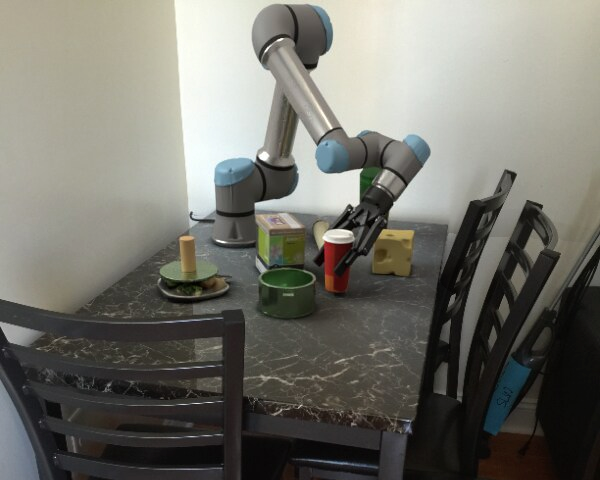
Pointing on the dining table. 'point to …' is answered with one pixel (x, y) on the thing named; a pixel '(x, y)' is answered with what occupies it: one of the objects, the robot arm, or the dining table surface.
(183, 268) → the lid
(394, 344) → the dining table surface
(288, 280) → the pot
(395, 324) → the dining table surface
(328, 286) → the paper cup
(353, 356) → the dining table surface
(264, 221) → the tea box
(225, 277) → the salad plate
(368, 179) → the bottle
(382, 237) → the cheese
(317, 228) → the rolling pin
